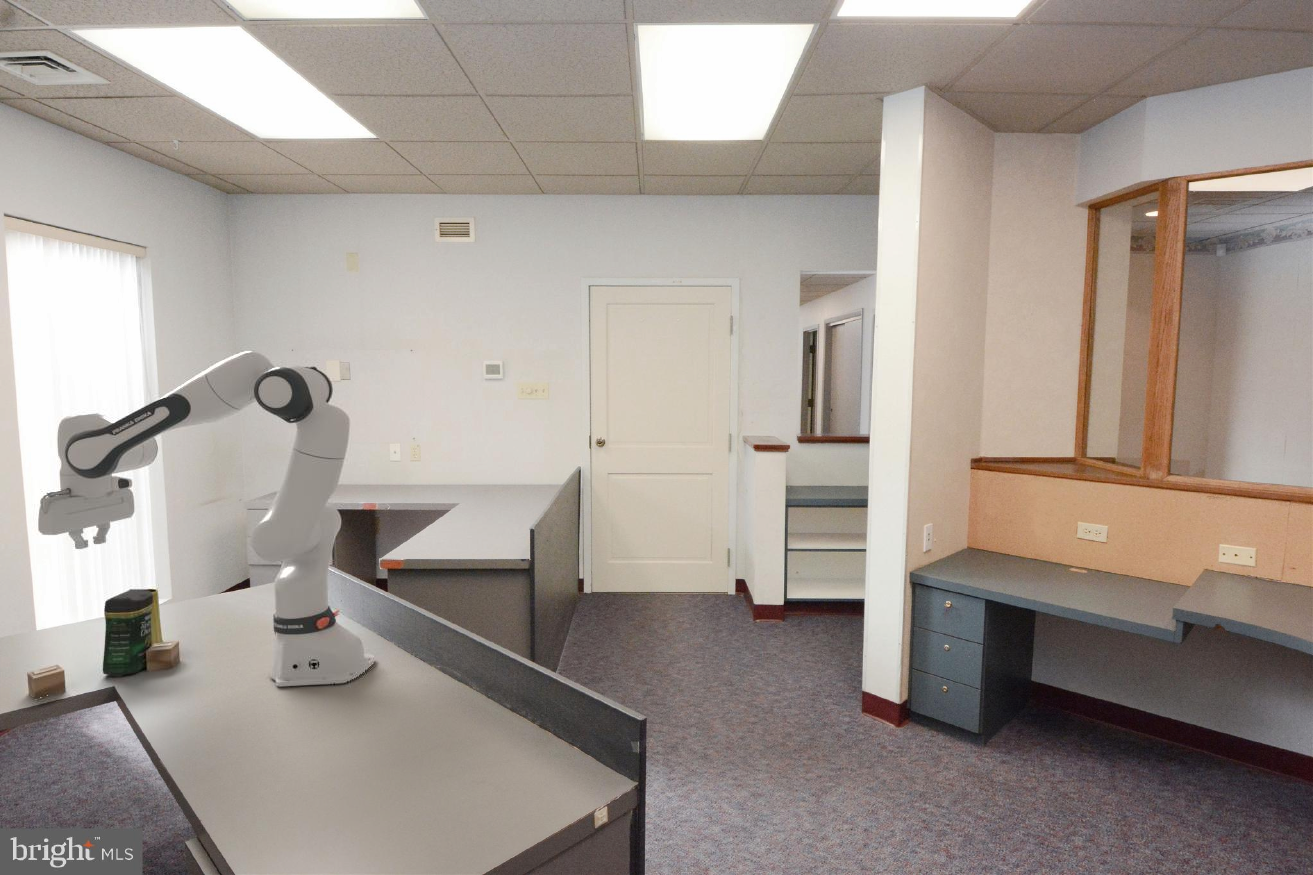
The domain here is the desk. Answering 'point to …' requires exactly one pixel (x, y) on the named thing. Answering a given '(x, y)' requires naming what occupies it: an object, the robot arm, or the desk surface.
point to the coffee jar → (127, 632)
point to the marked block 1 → (46, 681)
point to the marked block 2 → (162, 656)
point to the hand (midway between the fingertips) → (91, 545)
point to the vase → (155, 619)
